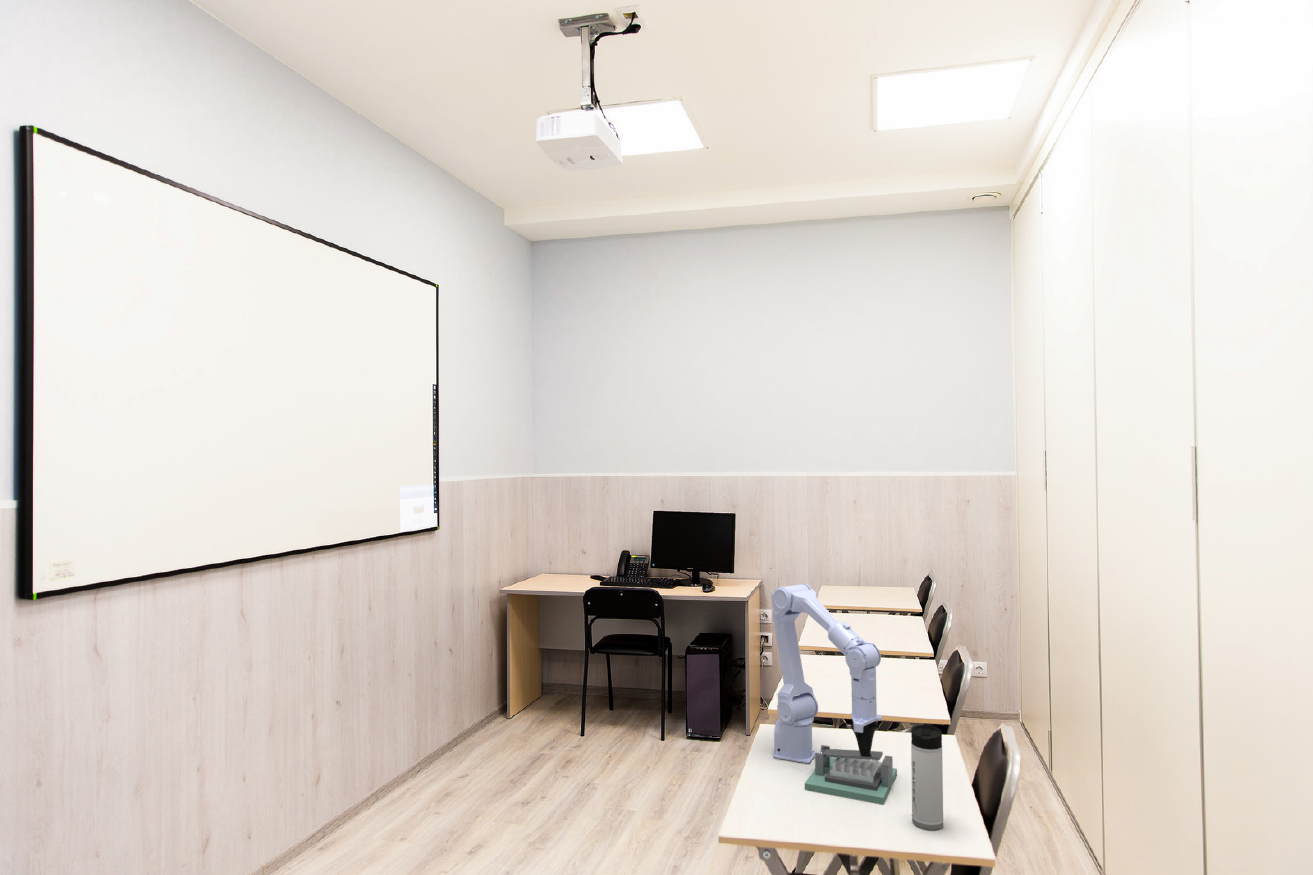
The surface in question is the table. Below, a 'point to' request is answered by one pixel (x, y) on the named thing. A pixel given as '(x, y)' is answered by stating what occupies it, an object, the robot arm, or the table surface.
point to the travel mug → (927, 777)
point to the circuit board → (849, 786)
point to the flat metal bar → (851, 754)
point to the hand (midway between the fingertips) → (865, 753)
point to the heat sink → (856, 768)
